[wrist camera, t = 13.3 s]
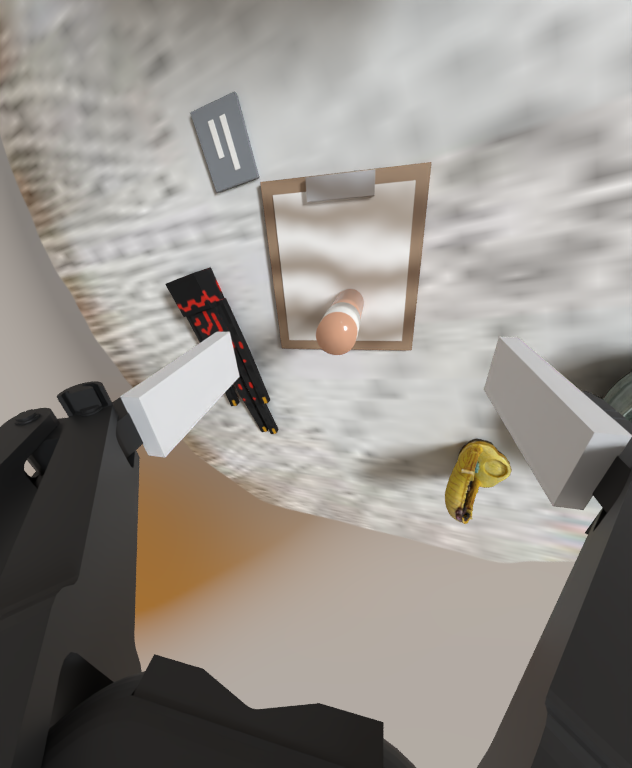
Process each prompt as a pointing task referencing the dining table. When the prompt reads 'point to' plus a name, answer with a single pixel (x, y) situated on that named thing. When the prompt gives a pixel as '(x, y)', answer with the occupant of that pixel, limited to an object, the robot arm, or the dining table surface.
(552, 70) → the dining table surface
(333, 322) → the pastel stick
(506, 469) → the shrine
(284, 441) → the dining table surface
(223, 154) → the grey striped tile
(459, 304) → the dining table surface
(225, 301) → the toy
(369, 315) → the clipboard
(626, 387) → the bowl
